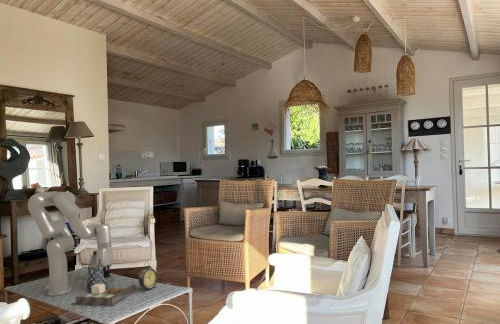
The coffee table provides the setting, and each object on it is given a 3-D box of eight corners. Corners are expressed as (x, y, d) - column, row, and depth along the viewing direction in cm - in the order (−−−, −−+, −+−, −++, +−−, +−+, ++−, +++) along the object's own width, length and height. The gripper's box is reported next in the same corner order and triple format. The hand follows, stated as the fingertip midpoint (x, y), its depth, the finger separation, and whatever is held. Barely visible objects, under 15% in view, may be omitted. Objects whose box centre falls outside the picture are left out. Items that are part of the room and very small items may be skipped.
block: (91, 293, 213) (91, 286, 213) (97, 290, 218) (97, 283, 218) (99, 293, 212) (99, 286, 212) (105, 290, 217) (104, 283, 217)
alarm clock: (144, 293, 215) (142, 264, 215) (137, 291, 218) (136, 263, 218) (158, 287, 224) (157, 259, 225) (151, 286, 227) (150, 258, 227)
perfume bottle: (103, 276, 254) (102, 249, 255) (101, 279, 248) (100, 251, 248) (93, 278, 253) (91, 250, 254) (90, 280, 247) (89, 252, 247)
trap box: (75, 304, 202) (75, 295, 202) (101, 291, 223) (101, 283, 223) (112, 306, 196) (111, 297, 196) (135, 292, 218) (135, 284, 218)
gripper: (106, 243, 230) (109, 273, 230) (90, 248, 215) (92, 281, 215) (117, 242, 228) (120, 273, 228) (101, 248, 214) (104, 281, 213)
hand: (106, 277), depth 221 cm, fingers closed
